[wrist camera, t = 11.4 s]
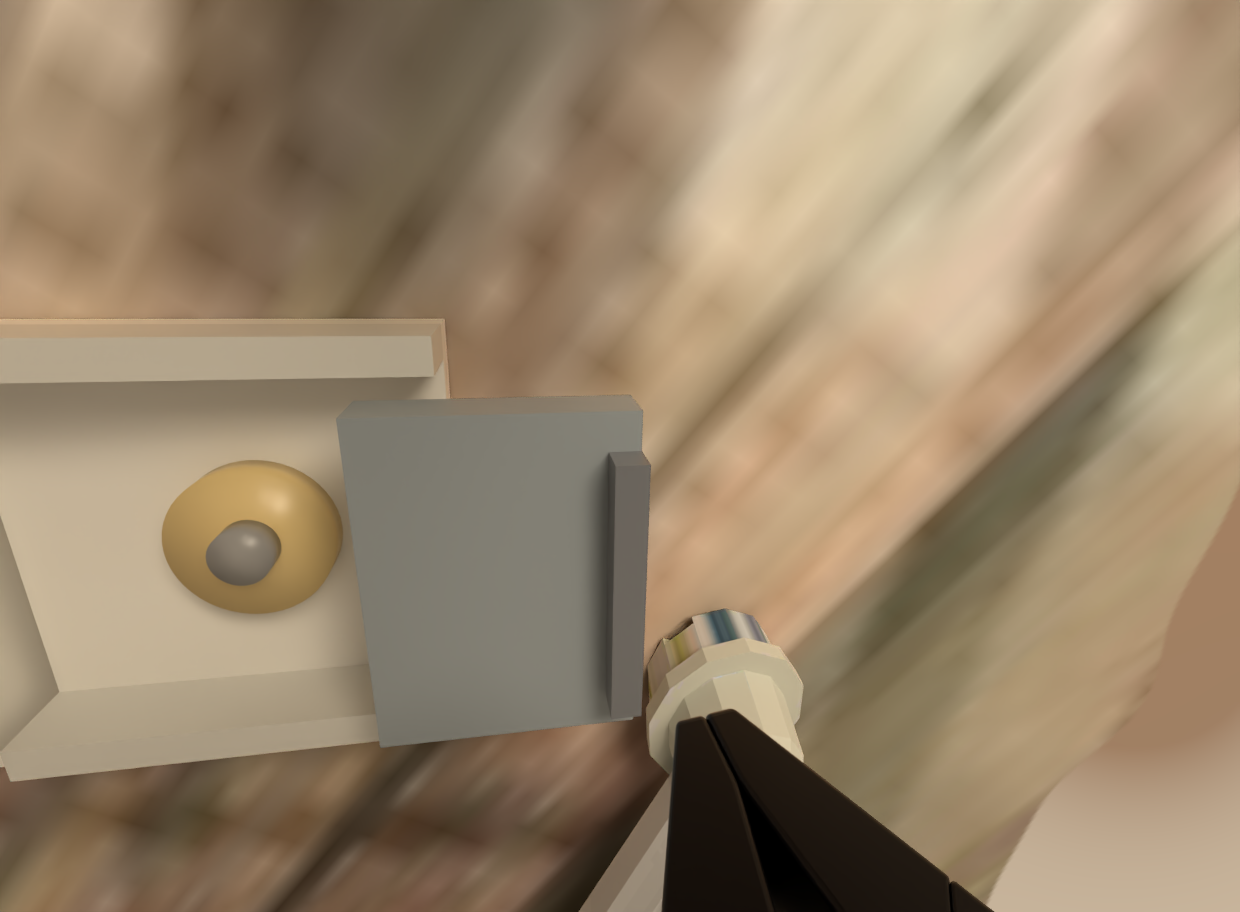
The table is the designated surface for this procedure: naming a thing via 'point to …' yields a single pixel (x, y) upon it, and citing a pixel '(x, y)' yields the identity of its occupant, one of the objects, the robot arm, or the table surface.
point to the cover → (499, 561)
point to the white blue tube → (696, 686)
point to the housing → (186, 535)
